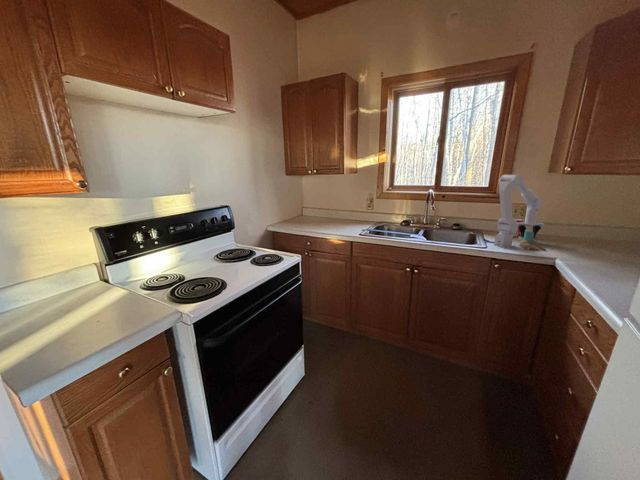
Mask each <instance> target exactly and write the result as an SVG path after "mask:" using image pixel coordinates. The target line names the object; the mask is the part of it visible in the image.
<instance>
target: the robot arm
mask: <svg viewBox="0 0 640 480" xmlns="http://www.w3.org/2000/svg"><path fill="white" fill-rule="evenodd" d="M498 185H499V190H498V192H499V202H500V204H499V205H500V214H501V218H499V219H498V220H497V225H496V228H497V230H498V232H499V233H497V234H496V235H495V236H494V243H493V246H496V247H500V248H510V247H512V246H513V241H514V237H513V234H514V233H515V232H516V231H517V230H518V227H519V229H520V232H521V236H520V237H524V233H525V230H527V227H532V232H533V233H534V238H535V237H536V235H537V234H538V232H539V231H540V230H541V229H542V228H543V227H544V226H545V223H543V222H537V219H538V213H539V210H540V208H541V205H542V203H543V199H542V198H541V197H538V196H537V195H536V193H535V192H534V190H533V189H531V188H528V187H527V185H526V184H525V182H524V177H523V176H522V175H521V174H503V175H502V176H500V178H499V180H498ZM516 189H518V191H519V192H520V193H521V194H520V195H521V197H522V198H523V200H524V201H525V202H524V203H525V205H526V206H527V207H526V212H525V218H524V222H520V223H517V221H516V220H515V219H516V218H514V217H513V209H512V208H513V207H512V206H513V205H512V204H513V203H512V195H511V193H512V191H515V190H516ZM534 238H533V239H534Z"/></svg>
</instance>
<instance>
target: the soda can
mask: <svg viewBox="0 0 640 480" xmlns="http://www.w3.org/2000/svg"><path fill="white" fill-rule="evenodd" d="M514 219H515V220H516V221H517V223H520V222H523V219H522V218H514ZM518 236H520V237H521V232H520V229H519V227H518V230H517V231H516V232H515V233H514V234H513V238H516V237H517V238H518Z"/></svg>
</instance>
